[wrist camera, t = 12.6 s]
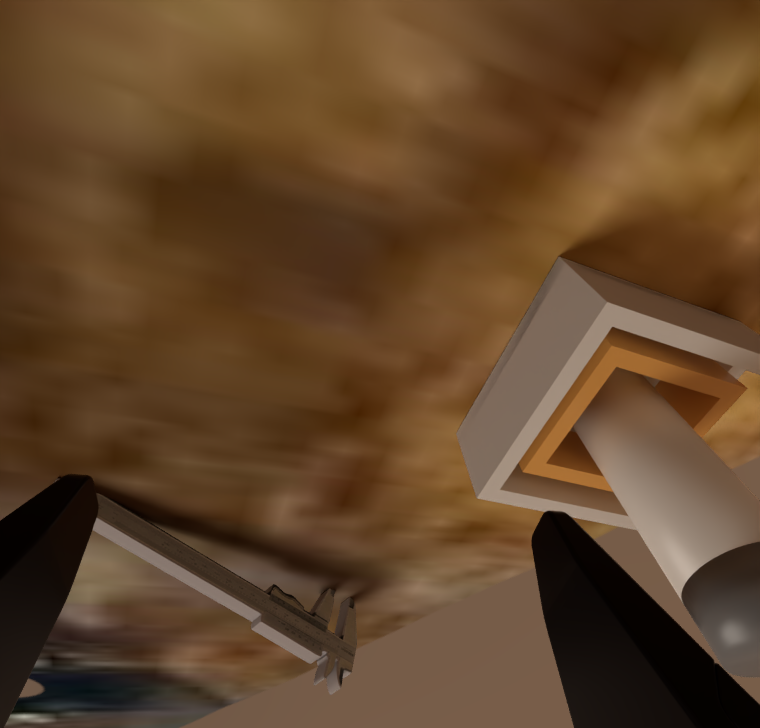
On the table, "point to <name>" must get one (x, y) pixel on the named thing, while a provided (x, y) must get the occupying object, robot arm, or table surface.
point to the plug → (683, 511)
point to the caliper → (242, 594)
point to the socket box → (593, 386)
